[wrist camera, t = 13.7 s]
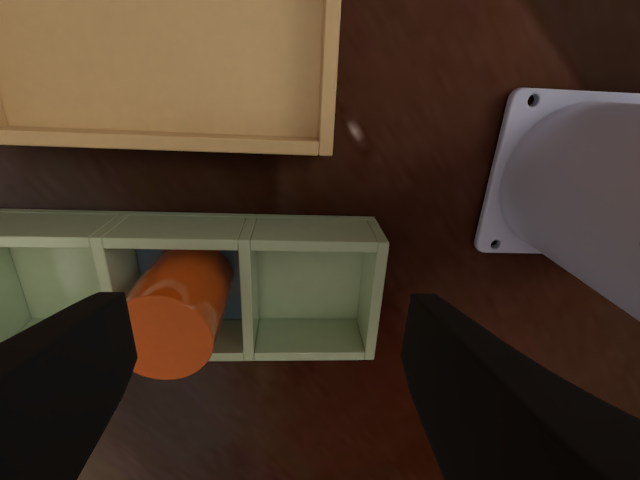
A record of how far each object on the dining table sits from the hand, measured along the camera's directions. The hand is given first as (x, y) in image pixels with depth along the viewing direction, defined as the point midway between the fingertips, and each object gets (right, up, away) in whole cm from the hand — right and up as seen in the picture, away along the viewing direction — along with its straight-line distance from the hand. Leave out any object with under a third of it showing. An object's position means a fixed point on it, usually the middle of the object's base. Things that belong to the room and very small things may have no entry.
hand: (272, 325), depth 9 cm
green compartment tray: (-5, +1, +10) cm, 11 cm away
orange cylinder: (-5, 0, +9) cm, 10 cm away
